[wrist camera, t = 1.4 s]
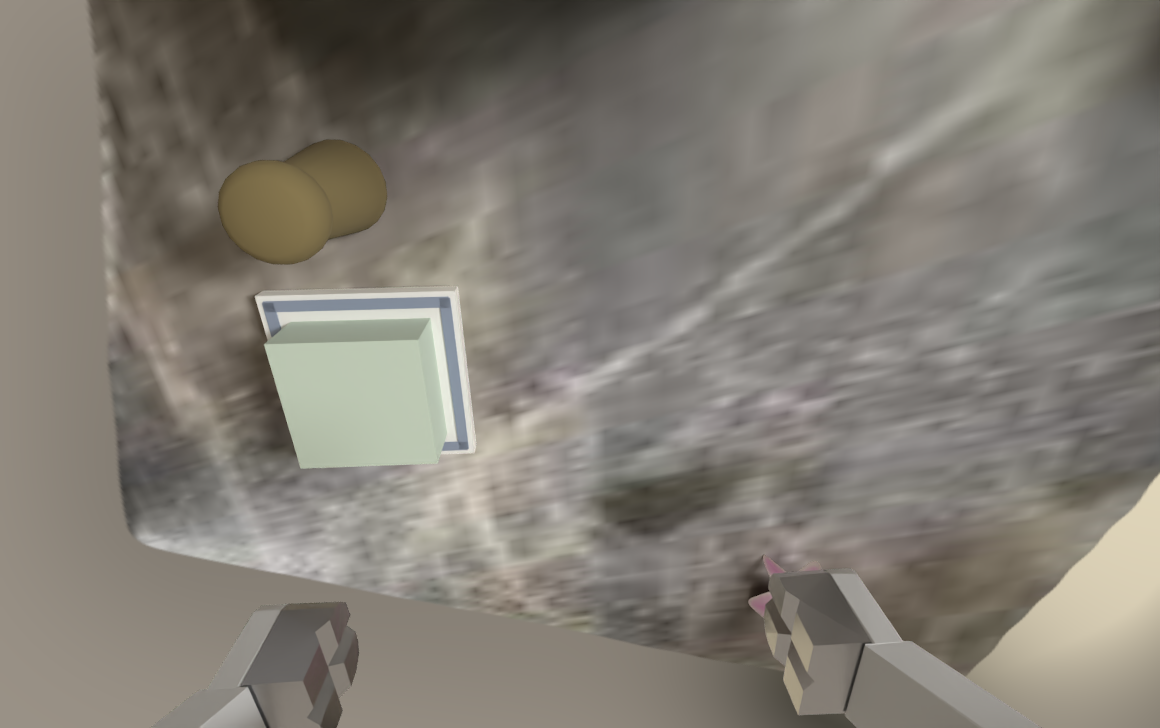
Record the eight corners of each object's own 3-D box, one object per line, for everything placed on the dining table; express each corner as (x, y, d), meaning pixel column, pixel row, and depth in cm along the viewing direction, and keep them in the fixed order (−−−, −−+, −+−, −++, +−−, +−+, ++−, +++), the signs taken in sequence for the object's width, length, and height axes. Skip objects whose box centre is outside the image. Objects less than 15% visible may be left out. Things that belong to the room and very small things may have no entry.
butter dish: (263, 290, 39) (223, 316, 34) (457, 285, 39) (444, 310, 35) (308, 450, 45) (280, 491, 40) (476, 444, 45) (467, 483, 41)
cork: (372, 133, 35) (300, 145, 25) (397, 226, 37) (341, 272, 27) (280, 145, 35) (171, 163, 25) (312, 238, 37) (225, 287, 28)
